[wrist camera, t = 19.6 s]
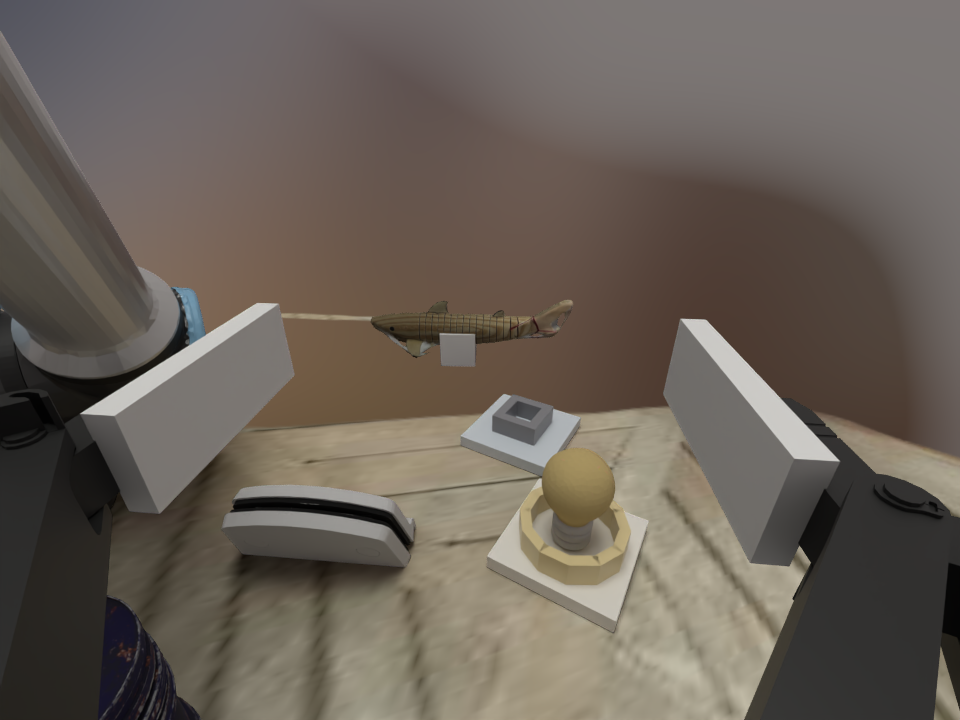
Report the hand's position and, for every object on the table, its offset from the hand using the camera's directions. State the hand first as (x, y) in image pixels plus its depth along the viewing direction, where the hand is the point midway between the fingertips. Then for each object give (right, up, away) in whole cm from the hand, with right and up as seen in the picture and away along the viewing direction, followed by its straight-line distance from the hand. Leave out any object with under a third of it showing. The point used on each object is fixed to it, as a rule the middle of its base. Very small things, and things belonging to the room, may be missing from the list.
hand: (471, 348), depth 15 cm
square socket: (+6, -11, +45) cm, 46 cm away
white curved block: (-15, -19, +29) cm, 38 cm away
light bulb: (+9, -18, +28) cm, 34 cm away
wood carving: (-1, 0, +65) cm, 65 cm away
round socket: (+9, -19, +29) cm, 36 cm away
